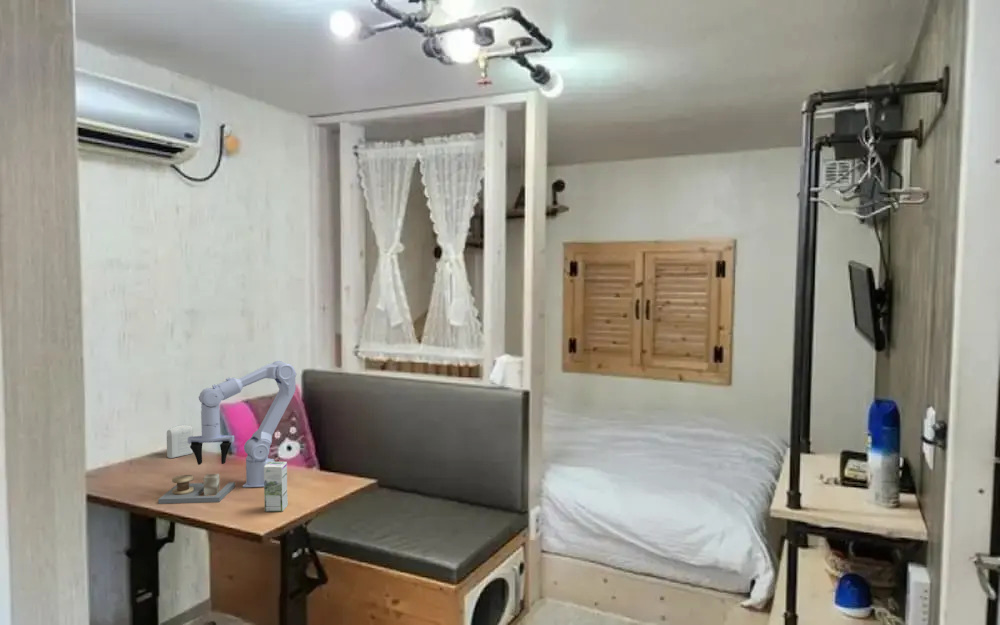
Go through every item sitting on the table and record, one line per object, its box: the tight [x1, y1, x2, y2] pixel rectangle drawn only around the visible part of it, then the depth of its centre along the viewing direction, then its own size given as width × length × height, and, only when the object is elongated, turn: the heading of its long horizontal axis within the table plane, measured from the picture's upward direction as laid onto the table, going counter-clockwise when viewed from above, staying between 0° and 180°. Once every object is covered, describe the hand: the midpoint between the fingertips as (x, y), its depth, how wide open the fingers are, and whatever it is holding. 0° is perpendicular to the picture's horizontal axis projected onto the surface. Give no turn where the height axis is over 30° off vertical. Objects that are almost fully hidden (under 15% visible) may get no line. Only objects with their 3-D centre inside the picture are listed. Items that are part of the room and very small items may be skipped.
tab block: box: [203, 473, 221, 496], centre depth 219 cm, size 4×4×6 cm
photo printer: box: [166, 424, 194, 459], centre depth 266 cm, size 10×4×12 cm, turn 147°
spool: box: [171, 474, 194, 495], centre depth 216 cm, size 6×6×5 cm
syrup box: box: [263, 461, 289, 513], centre depth 204 cm, size 6×6×14 cm
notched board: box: [157, 481, 236, 505], centre depth 217 cm, size 19×16×2 cm
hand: (211, 463), depth 219 cm, fingers open, 7 cm apart
